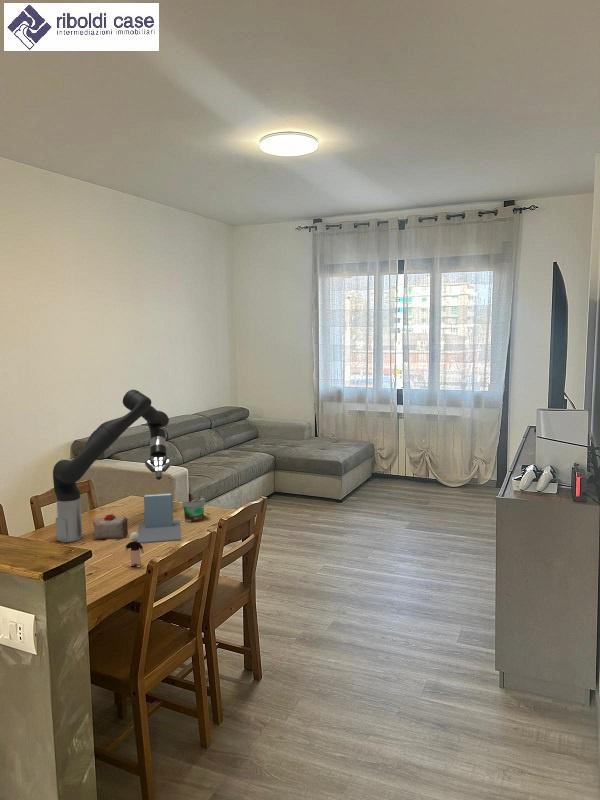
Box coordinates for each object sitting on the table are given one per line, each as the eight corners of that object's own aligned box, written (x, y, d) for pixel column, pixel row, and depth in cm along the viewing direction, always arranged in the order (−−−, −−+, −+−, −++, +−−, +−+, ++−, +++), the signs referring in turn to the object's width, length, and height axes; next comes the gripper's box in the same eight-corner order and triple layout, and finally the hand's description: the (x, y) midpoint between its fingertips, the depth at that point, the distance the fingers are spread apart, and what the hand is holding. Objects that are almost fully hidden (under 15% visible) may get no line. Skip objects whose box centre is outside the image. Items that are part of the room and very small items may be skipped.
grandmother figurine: (147, 563, 218) (146, 530, 217) (144, 567, 215) (142, 534, 213) (126, 563, 219) (125, 530, 217) (123, 567, 215) (121, 533, 214)
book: (145, 525, 261) (144, 494, 260) (173, 523, 264) (172, 492, 262) (145, 527, 258) (143, 496, 257) (173, 525, 261) (172, 494, 259)
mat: (181, 540, 243) (180, 538, 243) (135, 543, 240) (135, 542, 240) (180, 521, 269) (180, 520, 269) (139, 524, 265) (139, 523, 265)
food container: (192, 525, 262) (192, 504, 261) (182, 523, 266) (182, 501, 265) (211, 518, 272) (211, 497, 271) (201, 516, 276) (201, 495, 275)
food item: (91, 540, 244) (90, 517, 243) (98, 534, 252) (97, 512, 251) (124, 540, 244) (123, 517, 243) (130, 534, 252) (129, 511, 251)
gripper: (172, 451, 288) (173, 482, 278) (144, 453, 286) (144, 484, 275) (172, 442, 283) (173, 473, 272) (143, 444, 280) (143, 475, 269)
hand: (158, 478), depth 274 cm, fingers closed
